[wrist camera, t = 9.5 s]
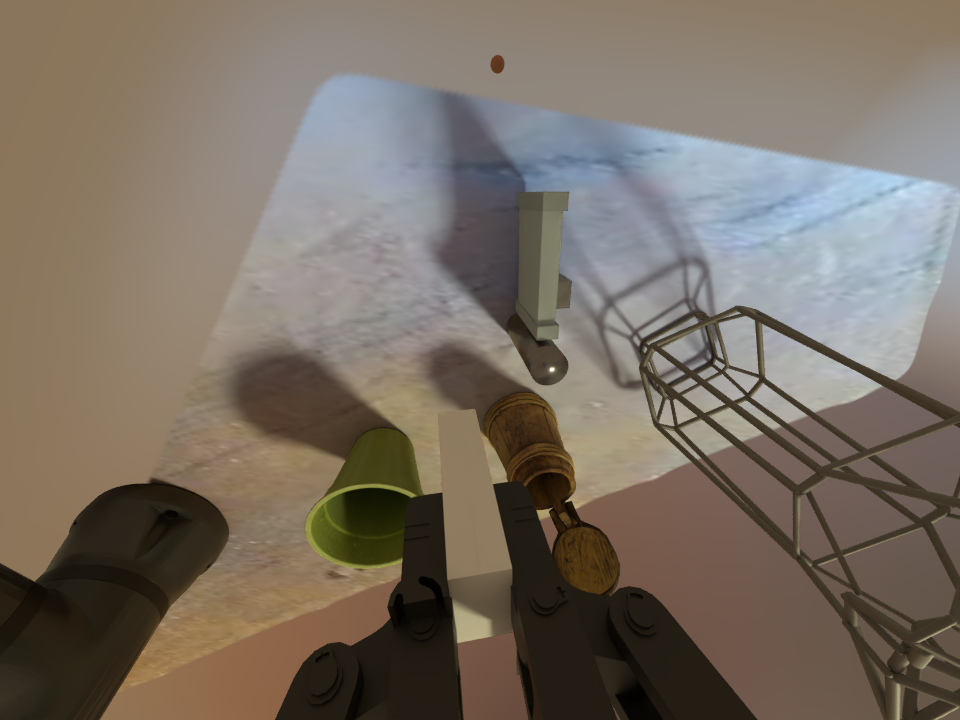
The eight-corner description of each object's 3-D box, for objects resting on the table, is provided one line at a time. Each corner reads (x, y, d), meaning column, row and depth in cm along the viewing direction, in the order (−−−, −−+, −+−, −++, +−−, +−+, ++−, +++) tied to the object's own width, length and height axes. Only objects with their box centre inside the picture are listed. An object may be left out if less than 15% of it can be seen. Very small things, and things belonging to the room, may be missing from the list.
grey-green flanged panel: (532, 309, 35) (558, 338, 28) (515, 310, 35) (536, 340, 28) (536, 191, 30) (569, 191, 23) (517, 192, 30) (543, 192, 23)
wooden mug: (518, 480, 47) (562, 626, 32) (471, 413, 41) (497, 553, 25) (575, 452, 47) (651, 588, 31) (536, 379, 40) (605, 502, 24)
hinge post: (506, 341, 38) (530, 387, 29) (506, 313, 36) (531, 353, 27) (534, 338, 38) (566, 383, 29) (535, 311, 37) (569, 349, 28)
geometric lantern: (743, 373, 44) (1445, 809, 14) (630, 424, 46) (1019, 909, 15) (731, 265, 37) (2185, 678, 6) (597, 331, 39) (1209, 897, 8)
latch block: (530, 291, 36) (547, 309, 30) (530, 268, 34) (549, 282, 29) (548, 290, 36) (569, 307, 30) (550, 267, 35) (571, 280, 29)
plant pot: (365, 497, 45) (347, 583, 35) (315, 432, 40) (276, 513, 30) (447, 466, 45) (452, 545, 35) (408, 396, 39) (400, 466, 29)
